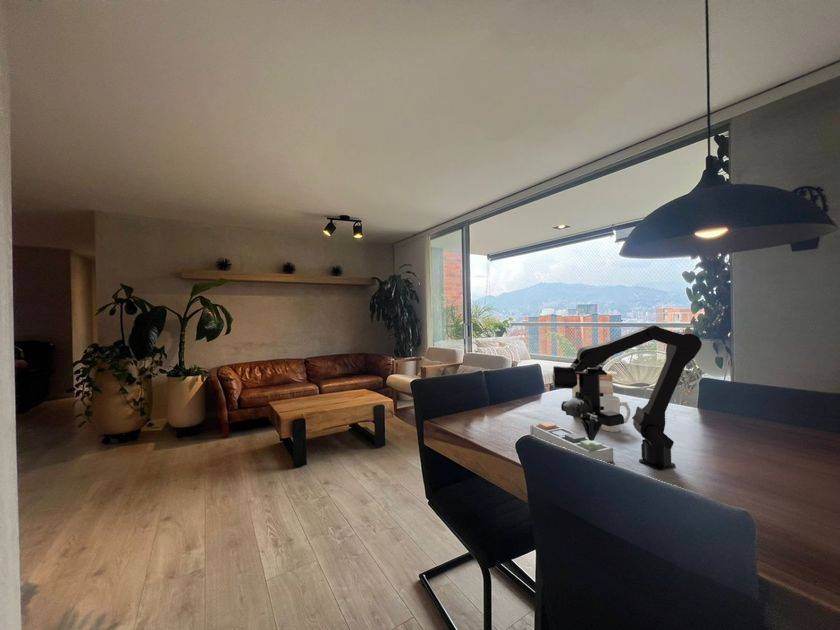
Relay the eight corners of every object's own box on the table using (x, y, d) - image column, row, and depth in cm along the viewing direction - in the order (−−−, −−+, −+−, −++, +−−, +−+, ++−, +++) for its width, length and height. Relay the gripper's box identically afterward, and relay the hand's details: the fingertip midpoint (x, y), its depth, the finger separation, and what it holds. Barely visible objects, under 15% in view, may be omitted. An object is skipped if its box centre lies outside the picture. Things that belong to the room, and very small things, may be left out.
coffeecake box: (614, 418, 142) (612, 371, 142) (613, 423, 136) (612, 373, 136) (575, 413, 150) (573, 369, 150) (572, 418, 144) (571, 371, 144)
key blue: (570, 441, 115) (570, 434, 115) (560, 443, 114) (559, 435, 114) (561, 437, 119) (561, 430, 119) (551, 438, 118) (551, 431, 118)
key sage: (602, 451, 103) (602, 443, 103) (591, 454, 101) (591, 446, 101) (591, 447, 107) (590, 439, 107) (580, 449, 105) (580, 441, 105)
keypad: (613, 461, 102) (613, 447, 102) (589, 466, 99) (589, 453, 99) (550, 432, 128) (550, 422, 128) (530, 436, 125) (530, 425, 125)
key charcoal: (585, 444, 109) (585, 436, 109) (574, 446, 108) (574, 438, 108) (575, 440, 113) (575, 432, 113) (565, 442, 112) (564, 434, 112)
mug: (599, 430, 128) (598, 398, 128) (600, 425, 134) (599, 394, 134) (631, 434, 123) (630, 401, 123) (630, 428, 129) (629, 397, 129)
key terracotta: (556, 431, 121) (556, 424, 121) (546, 433, 120) (546, 426, 120) (548, 428, 125) (548, 421, 125) (538, 429, 124) (538, 423, 124)
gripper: (546, 386, 110) (548, 434, 110) (593, 398, 93) (595, 456, 93) (574, 382, 114) (576, 429, 114) (624, 394, 96) (626, 449, 96)
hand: (591, 440), depth 104 cm, fingers closed
